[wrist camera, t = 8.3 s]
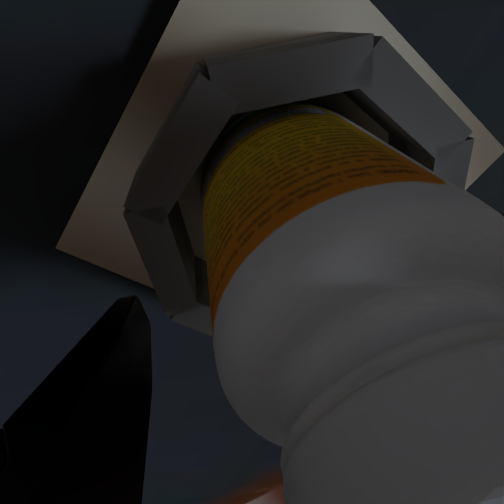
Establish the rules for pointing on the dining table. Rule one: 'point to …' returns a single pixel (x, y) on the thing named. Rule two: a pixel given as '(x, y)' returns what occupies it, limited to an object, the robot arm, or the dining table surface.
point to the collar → (239, 103)
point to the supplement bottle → (356, 311)
